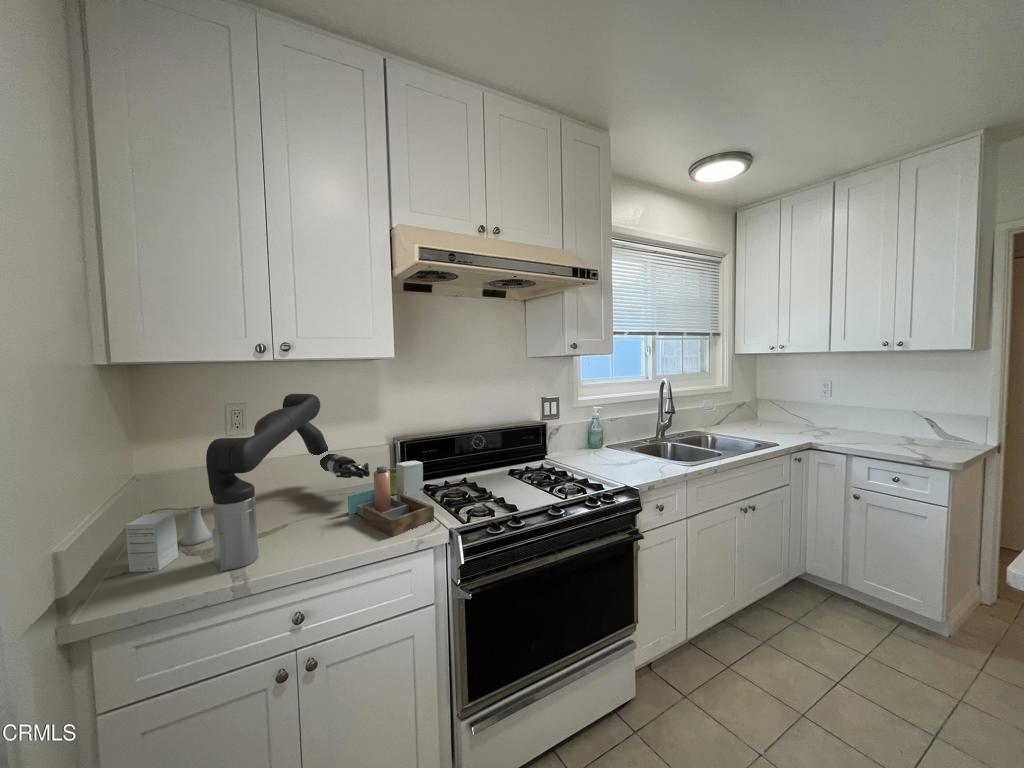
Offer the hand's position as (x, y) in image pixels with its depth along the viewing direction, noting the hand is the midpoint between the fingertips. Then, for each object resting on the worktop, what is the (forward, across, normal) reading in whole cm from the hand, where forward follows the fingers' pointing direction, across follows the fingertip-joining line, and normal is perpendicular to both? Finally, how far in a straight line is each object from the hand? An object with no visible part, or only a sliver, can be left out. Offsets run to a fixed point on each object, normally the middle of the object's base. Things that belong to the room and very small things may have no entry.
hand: (365, 474), depth 150 cm
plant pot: (-6, +14, +12) cm, 19 cm away
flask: (-14, -47, +12) cm, 51 cm away
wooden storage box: (+20, 0, +12) cm, 23 cm away
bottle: (+11, 0, +10) cm, 15 cm away
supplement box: (-5, -58, +12) cm, 59 cm away
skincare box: (+8, +13, +12) cm, 19 cm away
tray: (+10, 0, +12) cm, 15 cm away
